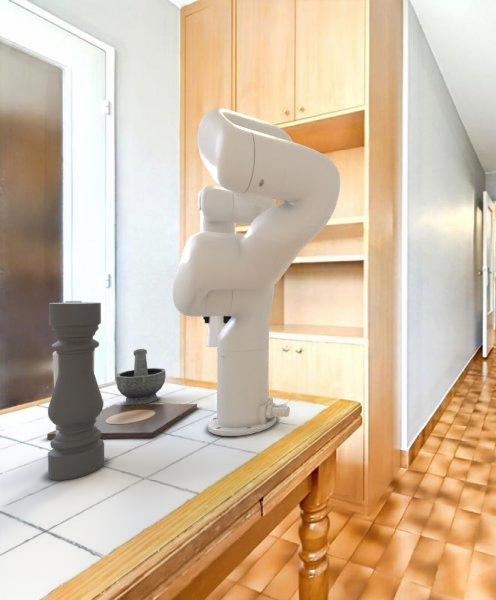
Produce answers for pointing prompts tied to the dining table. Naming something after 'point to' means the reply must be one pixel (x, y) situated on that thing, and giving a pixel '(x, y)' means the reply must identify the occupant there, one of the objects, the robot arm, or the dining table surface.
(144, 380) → the mortar and pestle
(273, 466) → the dining table surface
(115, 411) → the board
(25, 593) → the dining table surface
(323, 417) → the dining table surface
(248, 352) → the robot arm
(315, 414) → the dining table surface
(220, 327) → the pepper shaker
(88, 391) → the candle holder
